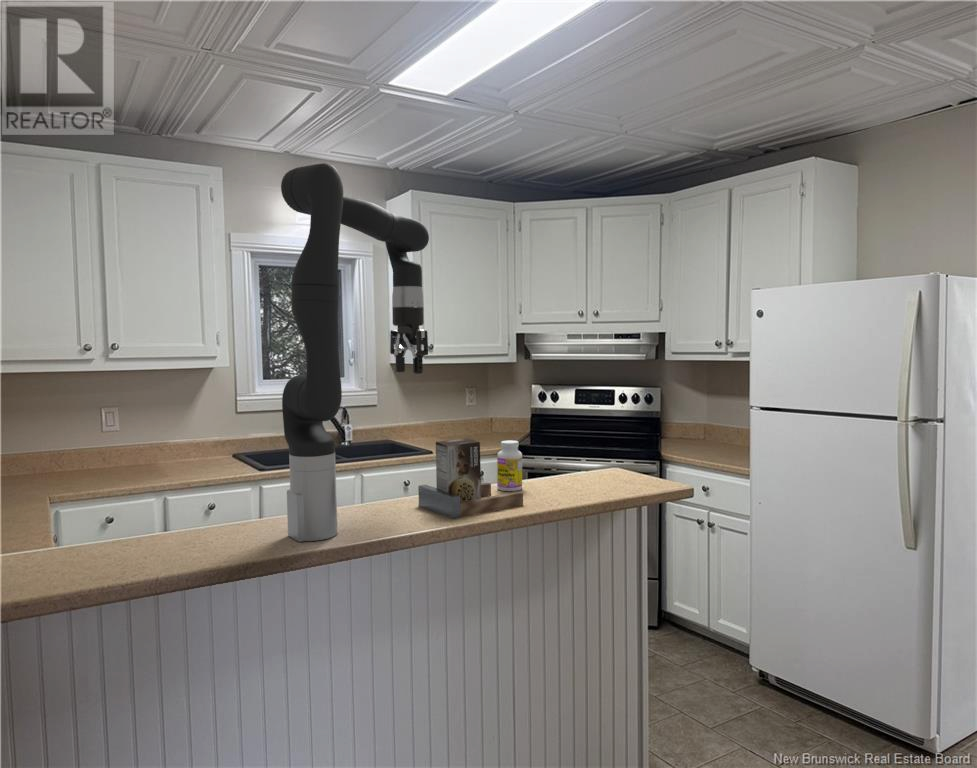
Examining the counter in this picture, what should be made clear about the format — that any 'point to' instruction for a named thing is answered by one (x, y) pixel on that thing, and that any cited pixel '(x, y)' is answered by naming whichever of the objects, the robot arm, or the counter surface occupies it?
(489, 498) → the guide rails
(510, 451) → the supplement bottle
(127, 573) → the counter surface
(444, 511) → the bar
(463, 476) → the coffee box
